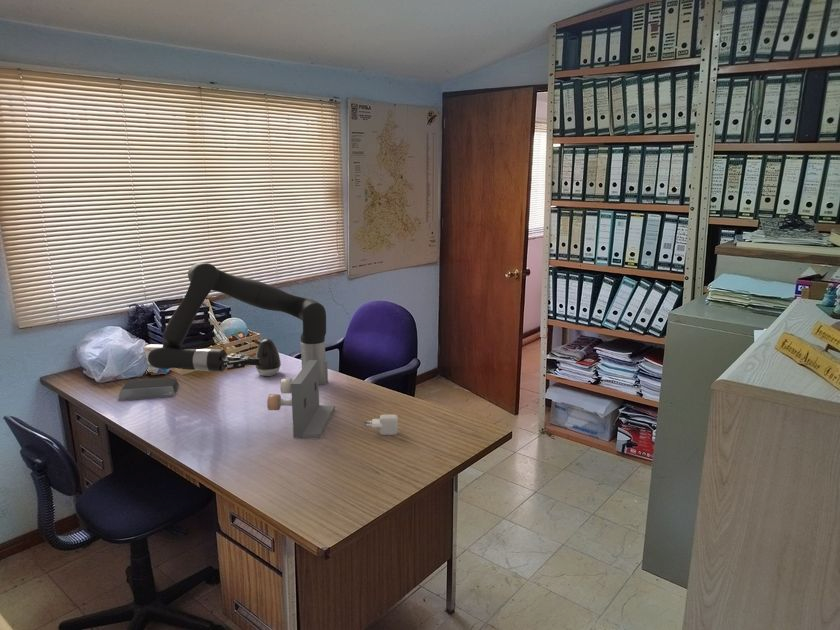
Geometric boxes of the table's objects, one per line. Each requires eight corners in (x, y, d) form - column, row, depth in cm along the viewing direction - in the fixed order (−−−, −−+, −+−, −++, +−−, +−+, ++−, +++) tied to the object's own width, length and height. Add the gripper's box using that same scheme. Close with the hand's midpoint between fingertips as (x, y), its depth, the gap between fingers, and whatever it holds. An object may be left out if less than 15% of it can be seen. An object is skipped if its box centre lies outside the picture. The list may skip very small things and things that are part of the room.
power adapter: (362, 436, 190) (362, 419, 189) (363, 430, 195) (363, 413, 193) (398, 436, 190) (397, 419, 189) (398, 430, 195) (398, 413, 194)
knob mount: (293, 438, 189) (291, 383, 184) (310, 408, 212) (308, 360, 208) (320, 438, 188) (318, 384, 184) (334, 409, 211) (333, 360, 207)
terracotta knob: (267, 412, 189) (266, 397, 188) (272, 406, 194) (271, 391, 193) (300, 413, 189) (299, 398, 187) (304, 407, 194) (303, 392, 192)
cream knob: (280, 395, 204) (280, 381, 203) (284, 390, 209) (284, 376, 207) (311, 396, 203) (310, 382, 202) (314, 390, 208) (313, 377, 207)
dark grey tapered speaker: (260, 369, 253) (258, 335, 250) (284, 370, 252) (282, 335, 249) (251, 377, 244) (249, 341, 240) (276, 378, 243) (274, 342, 239)
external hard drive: (174, 397, 223) (173, 387, 222) (117, 402, 218) (116, 391, 217) (179, 385, 235) (178, 375, 234) (125, 389, 231) (124, 379, 230)
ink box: (172, 371, 251) (169, 344, 248) (165, 375, 246) (163, 347, 243) (152, 370, 252) (149, 343, 249) (146, 374, 247) (143, 346, 244)
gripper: (201, 355, 197) (253, 356, 197) (216, 344, 210) (265, 345, 209) (202, 376, 199) (254, 378, 198) (217, 364, 212) (266, 366, 211)
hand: (260, 361), depth 204 cm, fingers closed
